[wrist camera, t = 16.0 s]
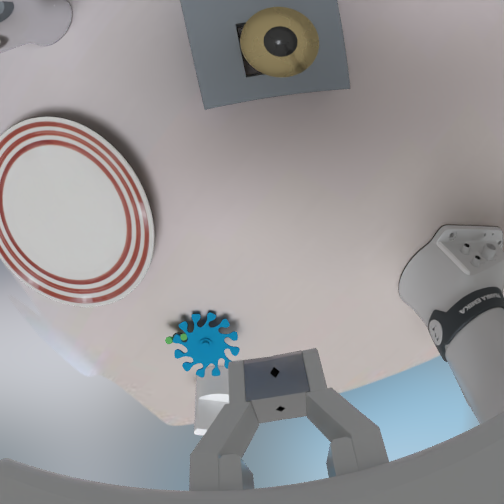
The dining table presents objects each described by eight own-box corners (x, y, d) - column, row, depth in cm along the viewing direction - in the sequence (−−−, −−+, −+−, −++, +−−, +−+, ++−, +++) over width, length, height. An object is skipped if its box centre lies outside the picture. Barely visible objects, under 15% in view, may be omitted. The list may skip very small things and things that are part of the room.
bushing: (287, 19, 25) (312, 3, 16) (297, 68, 28) (324, 72, 20) (232, 27, 25) (233, 12, 17) (243, 76, 28) (248, 83, 20)
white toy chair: (248, 369, 56) (253, 426, 46) (236, 392, 60) (238, 443, 51) (200, 362, 54) (198, 421, 44) (192, 386, 58) (190, 439, 49)
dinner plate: (4, 273, 40) (-5, 286, 37) (-16, 110, 25) (-31, 116, 23) (151, 308, 46) (148, 324, 43) (175, 124, 31) (170, 131, 28)
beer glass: (64, 53, 24) (-26, 66, 12) (20, 46, 22) (-70, 63, 10) (85, -4, 20) (3, -24, 8) (38, -7, 18) (-48, -16, 6)
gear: (245, 319, 45) (232, 384, 43) (243, 318, 51) (231, 376, 49) (171, 303, 45) (159, 368, 43) (177, 304, 51) (166, 362, 49)
